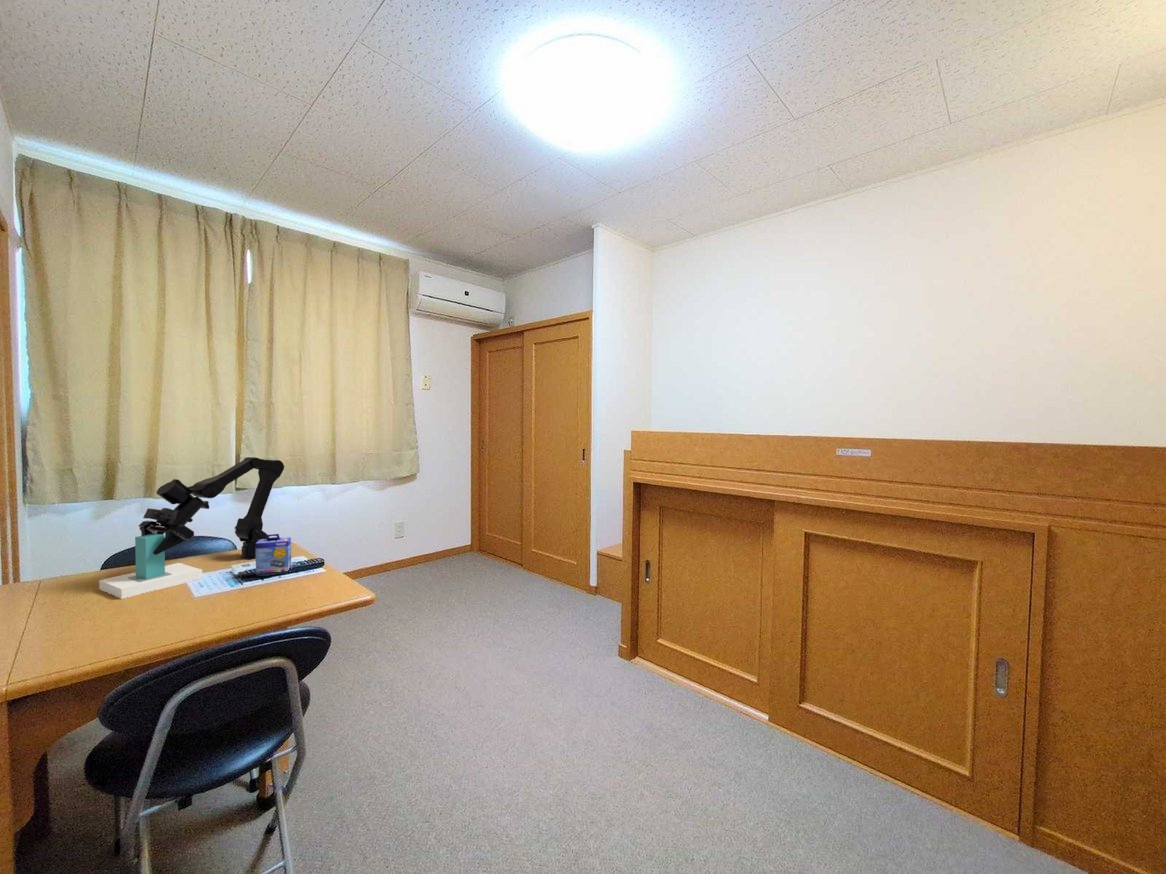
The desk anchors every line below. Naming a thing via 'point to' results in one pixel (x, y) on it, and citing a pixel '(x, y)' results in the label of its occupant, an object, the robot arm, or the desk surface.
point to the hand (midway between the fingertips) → (144, 552)
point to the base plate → (149, 581)
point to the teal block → (149, 556)
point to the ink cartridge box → (273, 554)
